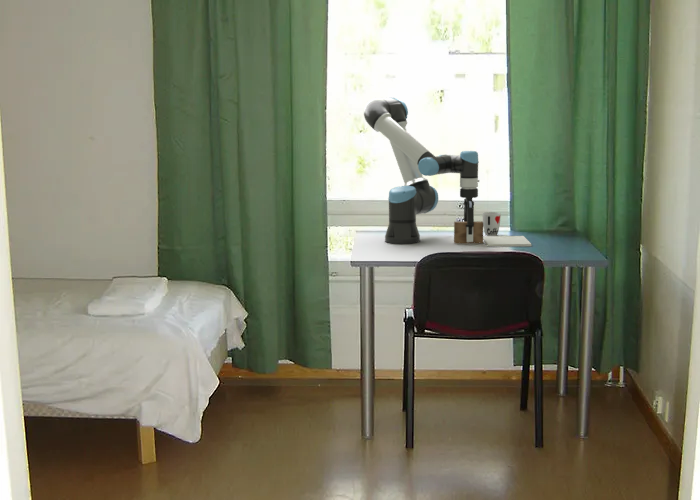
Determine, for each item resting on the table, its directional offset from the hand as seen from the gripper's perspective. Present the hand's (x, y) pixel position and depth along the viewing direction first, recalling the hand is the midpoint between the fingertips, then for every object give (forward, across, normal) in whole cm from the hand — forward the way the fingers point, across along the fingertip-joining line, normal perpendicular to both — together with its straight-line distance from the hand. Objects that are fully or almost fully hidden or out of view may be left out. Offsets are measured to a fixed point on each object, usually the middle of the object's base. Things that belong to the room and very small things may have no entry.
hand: (468, 239), depth 365 cm
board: (+1, 0, 0) cm, 1 cm away
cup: (+2, +18, -12) cm, 22 cm away
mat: (+1, 0, -16) cm, 16 cm away
